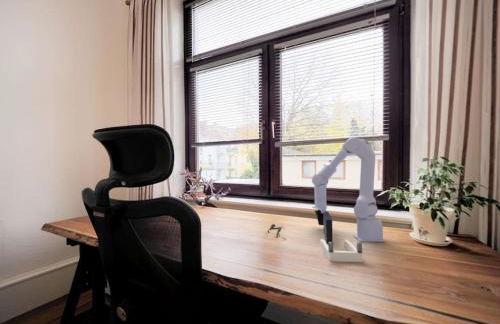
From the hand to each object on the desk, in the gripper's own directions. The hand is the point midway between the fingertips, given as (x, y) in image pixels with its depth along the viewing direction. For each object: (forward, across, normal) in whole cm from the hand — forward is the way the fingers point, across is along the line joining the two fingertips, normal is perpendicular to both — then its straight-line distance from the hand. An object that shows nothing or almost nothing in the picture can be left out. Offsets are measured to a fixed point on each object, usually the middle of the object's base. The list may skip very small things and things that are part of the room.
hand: (321, 224), depth 116 cm
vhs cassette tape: (+2, +15, 0) cm, 15 cm away
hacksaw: (+3, +8, -22) cm, 23 cm away
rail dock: (+2, +33, 0) cm, 33 cm away
